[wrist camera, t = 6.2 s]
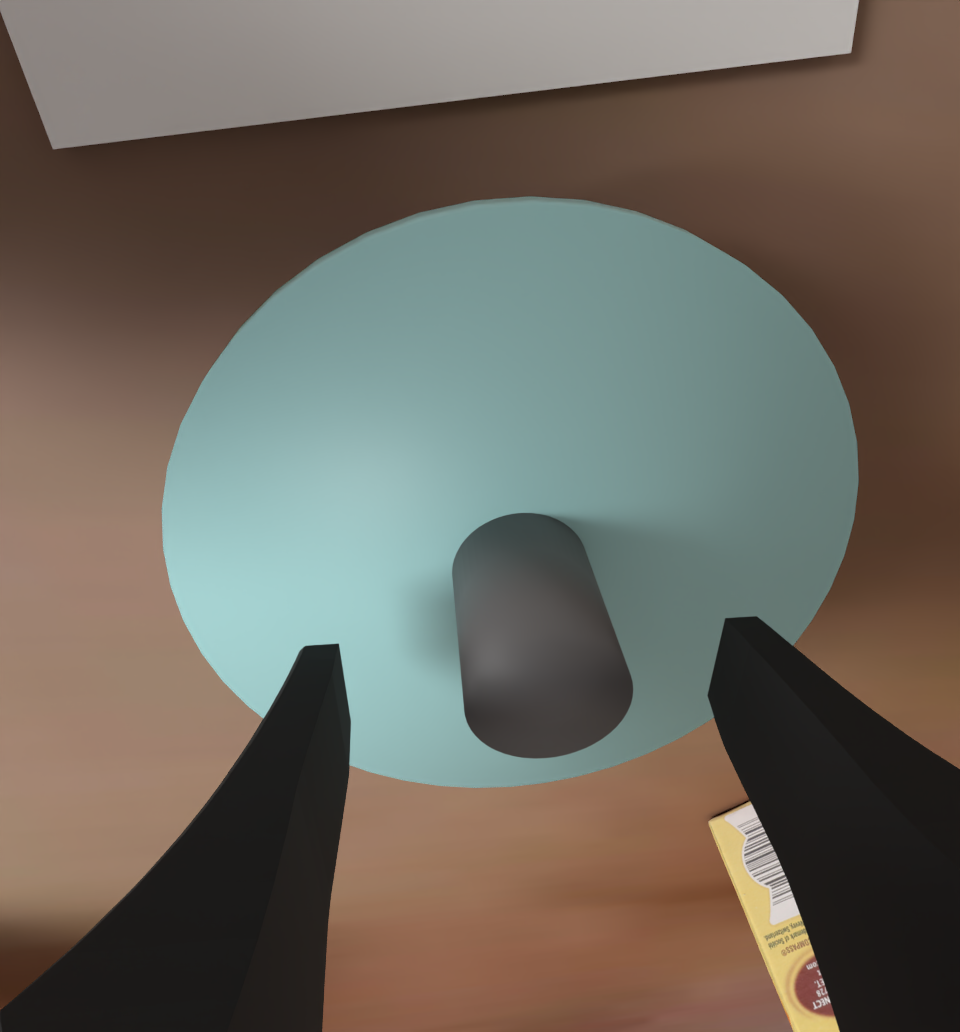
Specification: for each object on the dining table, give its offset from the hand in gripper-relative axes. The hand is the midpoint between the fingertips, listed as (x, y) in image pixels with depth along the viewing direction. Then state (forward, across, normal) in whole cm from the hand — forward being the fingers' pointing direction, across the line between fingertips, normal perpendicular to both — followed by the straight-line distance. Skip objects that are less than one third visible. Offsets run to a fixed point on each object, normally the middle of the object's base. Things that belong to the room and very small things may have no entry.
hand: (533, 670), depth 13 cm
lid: (+3, 0, -1) cm, 3 cm away
